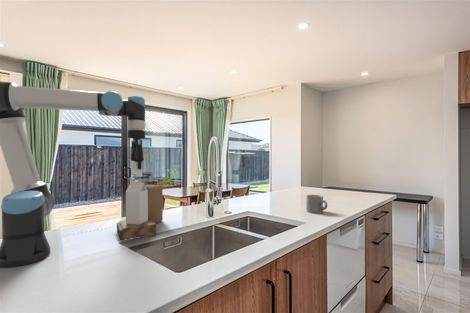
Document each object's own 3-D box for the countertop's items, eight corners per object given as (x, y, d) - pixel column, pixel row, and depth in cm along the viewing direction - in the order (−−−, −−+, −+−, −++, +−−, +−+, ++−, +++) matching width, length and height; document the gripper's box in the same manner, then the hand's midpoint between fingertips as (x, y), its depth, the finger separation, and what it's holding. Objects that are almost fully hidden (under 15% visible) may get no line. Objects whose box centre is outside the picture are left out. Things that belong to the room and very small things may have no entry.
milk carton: (139, 225, 117) (139, 183, 116) (125, 224, 118) (125, 183, 118) (148, 221, 124) (147, 181, 123) (134, 220, 125) (134, 181, 125)
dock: (119, 240, 111) (119, 229, 111) (116, 231, 123) (116, 221, 123) (155, 234, 118) (155, 224, 118) (149, 227, 130) (149, 217, 130)
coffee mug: (303, 211, 166) (303, 195, 166) (314, 209, 171) (314, 194, 171) (319, 215, 155) (319, 198, 155) (330, 213, 160) (330, 197, 160)
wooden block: (136, 223, 136) (135, 186, 136) (148, 219, 146) (148, 184, 145) (151, 225, 133) (150, 187, 132) (163, 221, 142) (163, 185, 142)
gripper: (150, 128, 111) (150, 177, 111) (140, 132, 133) (140, 173, 133) (131, 127, 107) (131, 178, 108) (124, 131, 129) (124, 173, 129)
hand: (136, 175), depth 120 cm, fingers open, 13 cm apart
